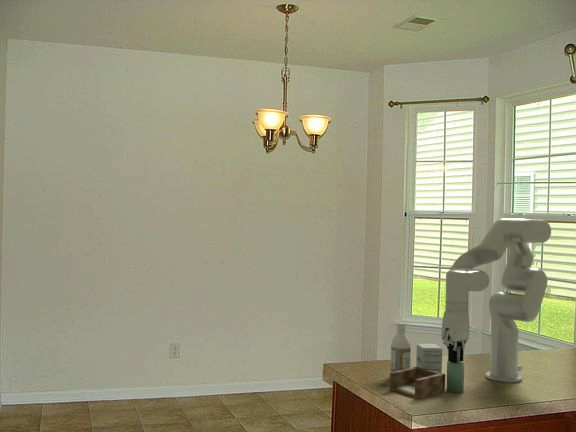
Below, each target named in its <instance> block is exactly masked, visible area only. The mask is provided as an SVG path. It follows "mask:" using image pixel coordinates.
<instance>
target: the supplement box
mask: <svg viewBox="0 0 576 432" xmlns="http://www.w3.org/2000/svg"><path fill="white" fill-rule="evenodd" d="M415 358H416V359H415V361H416V363H415V367H420V368H424V369H427V370H431V371H435V372H439V373H442V372H443V370H442V369H443V368H442V367H443V348H442V347H441V346H439V345H438V344H436V343H417V344H416V357H415Z"/></svg>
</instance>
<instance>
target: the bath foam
mask: <svg viewBox="0 0 576 432" xmlns="http://www.w3.org/2000/svg"><path fill="white" fill-rule="evenodd" d="M396 326H397V327H396V332H397V333H396V334H395V335H394V337H393V338H392V340H391V345H390V371H389V373H390V372H395V371H399V370H404V369H408V368H411V353H412V352H411V351H412V350H411V348H412V345H411V341H410V339H409V337H408V335H407V333H406V326H407V325H406V323H405V322H397V323H396Z"/></svg>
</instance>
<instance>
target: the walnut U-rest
mask: <svg viewBox="0 0 576 432" xmlns="http://www.w3.org/2000/svg"><path fill="white" fill-rule="evenodd" d="M389 391H391V392H394V393H397V394H400V395H404V396H407V397H411V398H413V399H416V400H421V399H424V398H429V397H432V396H436V395H439V394H442V393H445V391H446V373H439V372H435V371H431V370H427V369H424V368H420V367H416V366H414V367H413V366H412V367H410V368H408V369H404V370H399V371H395V372H390V371H389Z"/></svg>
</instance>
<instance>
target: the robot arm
mask: <svg viewBox="0 0 576 432" xmlns="http://www.w3.org/2000/svg"><path fill="white" fill-rule="evenodd" d="M551 236H552V228H551V225H550V224H549V222H548V221H546V220H544V219H530V218H512V217H511V218H510V217H509V218H507V217H505V218H499V219H497V220H496V221H495V222H494V223H493V224H492V226H491V227H490V229H489V230H488V231H487V233H486V235H485V236H484V237H483V239H482V240H481V242H480V243H479V244H477V245H476V246H474V247H472V248H471V249H469V250H467V251H465V252H464V253H462V254H461V255H459V257H457V258H456V260H455V261H454V263H453V264H452V266H451V267H450V269H449V270H448V271H446V275H445V302H444V303H445V307H444V308H445V310H444V311H443V317H442V320H441V321H442V322H441V335H440V336H441V339H442V344H443V345H445V346H446V349H447V355H448V356H447V361H449V362H453V363H457V351H456V345H459V346H461V349H460V361H462V362H464V350H465V348H466V346H465V345H466V343H467V342H468V341H469V339H470V338H469V337H470V317H469V315H470V314H469V298H470V297H469V296H470V295H469V293H470V292H482V291H485V290H487V288H488V286H489V284H490V277H489V275H488V274H487V272H486V271H484V270H482V269H475V268H476V267H478V266H483V265H487V264H491V263H494V262H496V261H498V260H500V259H501V258H502V256H503V255H504V254H505V252H506V251H507V248H509V253H508V254H509V255H508V259H507V262H506V265H505V268H504V270H503V273H502V277H501V286H502V287H503V289H505V290H506V291H497V292H494V293H493V294H492V295H491V296H490V297H489V299H488V308H489V309H488V310H489V314H490V357H489V359H490V360H489V361H490V362H489V364H490V365H489V371H487V372H485V378H487V379H489V380H491V381H495V382H500V383H508V384H509V383H512V384H514V383H519V382H521V381H523V377H522V375H520V374H518V373H519V372H521V371H522V370H523V366H522V365H520V364H519V363H518V361H519V335H520V334H519V333H520V332H519V328H518V326H517V323H516V322H515V321H519V322H525V323H531V322H533V321H534V320H536V319H537V317H538V315H539V312H540V310H541V307H542V304H543V299H544V297H545V293H546V290H547V288H548V287H547V286H548V278H547V274H546V272H545V271H544V270H543V269H541V268H538V267H532V266H533V265H532V264H533V261H534V255H533V252H532V250H531V248H530V247H529V245H528V244H527V243H529V244H543V243H544V244H545V243H546V242H547V241H548V240H549V239H550V238H551ZM509 291H510V292H509ZM515 292H516V293H515ZM521 293H522V294H521Z"/></svg>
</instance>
